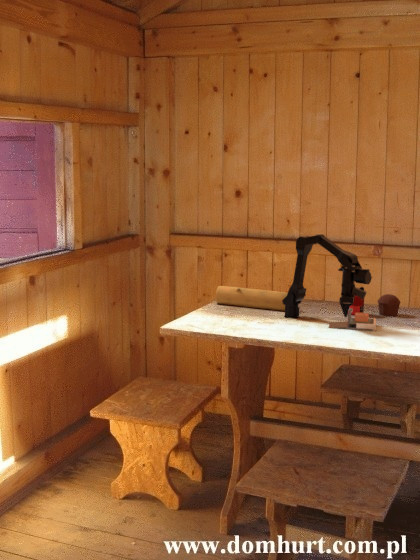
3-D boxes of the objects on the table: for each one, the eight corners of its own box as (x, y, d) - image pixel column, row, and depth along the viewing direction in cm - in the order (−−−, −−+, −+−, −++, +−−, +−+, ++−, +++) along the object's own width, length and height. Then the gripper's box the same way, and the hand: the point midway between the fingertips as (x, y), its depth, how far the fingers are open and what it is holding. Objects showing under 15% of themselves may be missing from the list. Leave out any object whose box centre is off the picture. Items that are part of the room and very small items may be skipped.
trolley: (347, 326, 365) (347, 314, 364) (348, 322, 375) (349, 309, 374) (370, 328, 363) (370, 315, 362) (370, 323, 373) (371, 311, 372)
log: (291, 309, 408) (291, 290, 407) (284, 312, 400) (285, 292, 398) (222, 302, 425) (223, 283, 423) (214, 304, 416) (215, 285, 415)
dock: (328, 330, 365) (328, 321, 364) (330, 324, 379) (330, 315, 378) (375, 333, 361) (375, 324, 360) (375, 327, 374) (375, 318, 374)
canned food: (363, 316, 394) (364, 294, 392) (346, 315, 395) (347, 293, 394) (363, 313, 401) (364, 291, 400) (347, 312, 403) (348, 290, 401)
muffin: (403, 317, 394) (404, 296, 393) (382, 317, 392) (383, 297, 391) (394, 312, 406) (395, 292, 404) (373, 312, 404) (374, 292, 402)
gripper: (365, 285, 356) (363, 320, 359) (366, 279, 374) (364, 312, 377) (340, 284, 358) (338, 318, 361) (342, 278, 376) (340, 310, 379)
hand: (346, 315), depth 369 cm, fingers open, 9 cm apart
